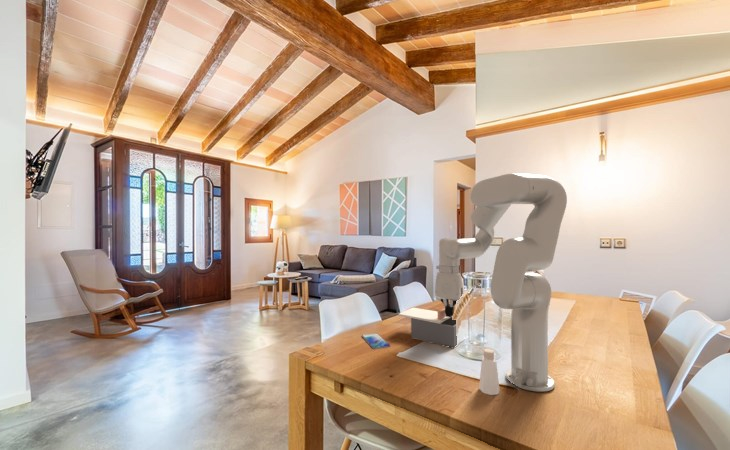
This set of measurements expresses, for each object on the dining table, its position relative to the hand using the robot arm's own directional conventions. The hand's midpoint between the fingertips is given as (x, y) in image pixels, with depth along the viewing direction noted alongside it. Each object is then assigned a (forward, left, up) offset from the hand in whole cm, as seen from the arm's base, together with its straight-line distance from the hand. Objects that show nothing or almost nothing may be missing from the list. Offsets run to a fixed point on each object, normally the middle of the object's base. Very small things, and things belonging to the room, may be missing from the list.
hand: (449, 316), depth 125 cm
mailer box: (0, +5, -10) cm, 11 cm away
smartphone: (-17, +24, -11) cm, 31 cm away
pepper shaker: (-29, -23, -10) cm, 39 cm away
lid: (0, +10, -2) cm, 10 cm away
